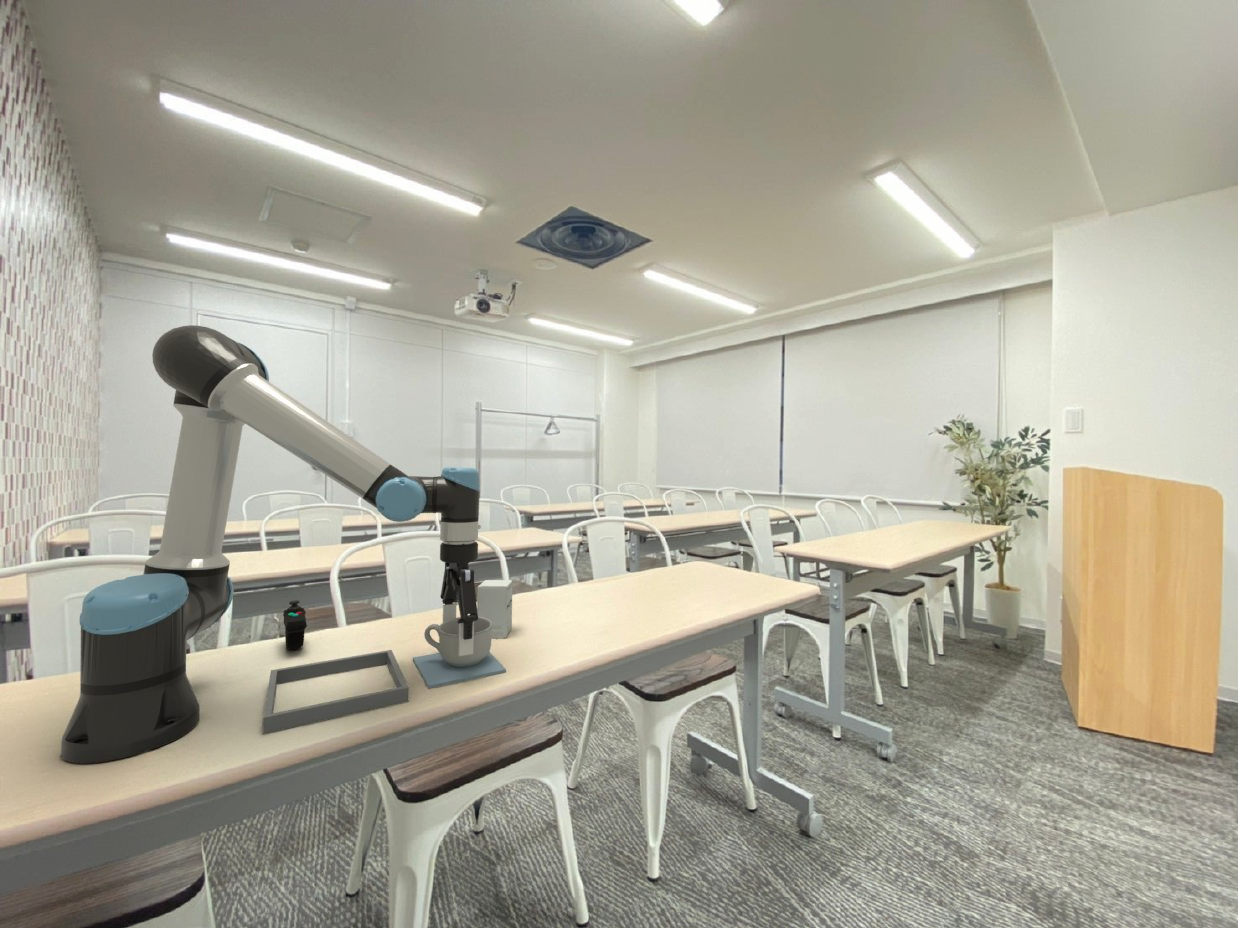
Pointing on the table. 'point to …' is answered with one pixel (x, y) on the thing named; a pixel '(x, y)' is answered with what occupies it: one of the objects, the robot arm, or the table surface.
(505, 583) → the supplement box
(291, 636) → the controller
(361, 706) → the gray rectangular frame
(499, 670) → the mat
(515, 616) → the table surface
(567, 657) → the table surface
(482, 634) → the teacup
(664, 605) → the table surface
